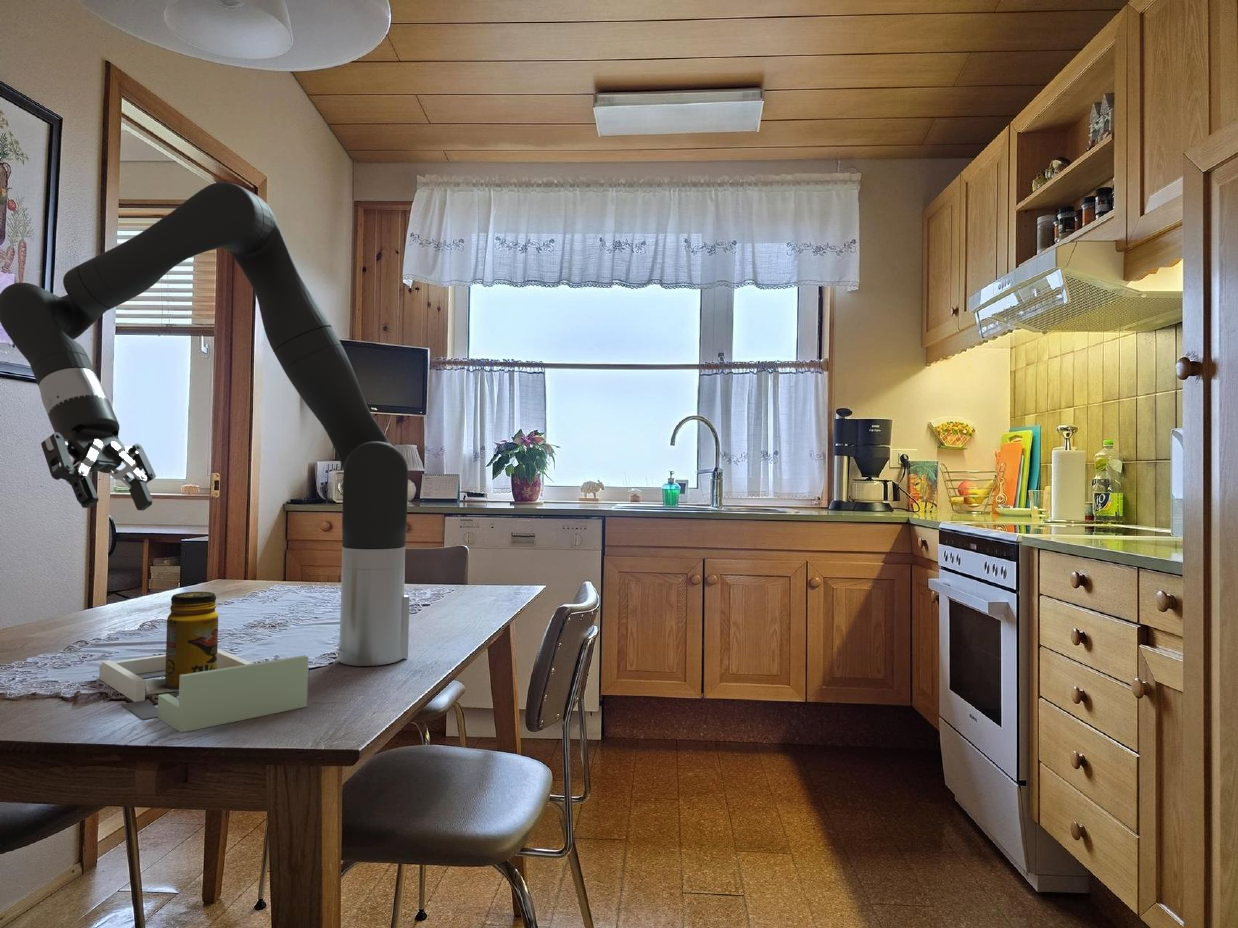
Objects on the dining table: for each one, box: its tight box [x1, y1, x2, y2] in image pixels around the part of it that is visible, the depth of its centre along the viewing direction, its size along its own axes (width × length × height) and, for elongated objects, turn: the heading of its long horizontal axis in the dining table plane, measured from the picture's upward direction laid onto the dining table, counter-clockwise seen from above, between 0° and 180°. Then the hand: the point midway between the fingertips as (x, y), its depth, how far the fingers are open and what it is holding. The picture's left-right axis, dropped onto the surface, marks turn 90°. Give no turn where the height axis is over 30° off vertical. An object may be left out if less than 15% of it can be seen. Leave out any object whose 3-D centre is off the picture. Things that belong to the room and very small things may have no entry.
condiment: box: [144, 591, 219, 695], centre depth 103 cm, size 7×8×12 cm
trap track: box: [98, 648, 309, 733], centre depth 99 cm, size 16×31×6 cm, turn 47°
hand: (119, 506), depth 107 cm, fingers open, 8 cm apart
